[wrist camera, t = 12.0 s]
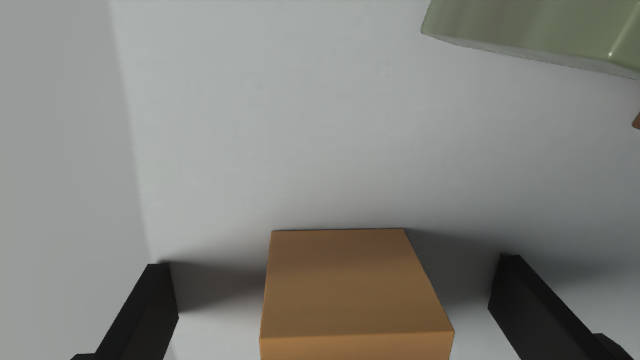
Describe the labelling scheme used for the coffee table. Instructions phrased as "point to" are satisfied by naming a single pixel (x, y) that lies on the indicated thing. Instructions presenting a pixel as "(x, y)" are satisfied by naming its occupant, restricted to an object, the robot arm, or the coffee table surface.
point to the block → (350, 299)
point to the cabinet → (636, 122)
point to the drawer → (545, 31)
